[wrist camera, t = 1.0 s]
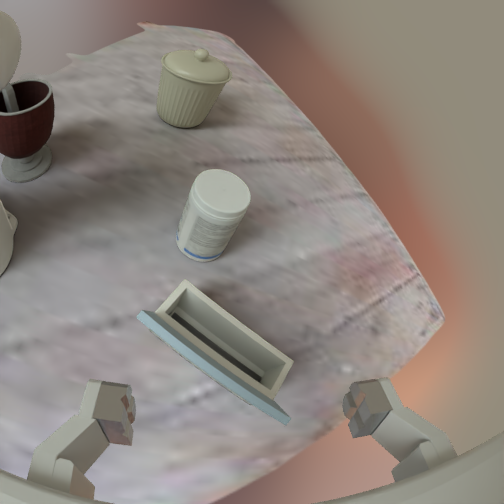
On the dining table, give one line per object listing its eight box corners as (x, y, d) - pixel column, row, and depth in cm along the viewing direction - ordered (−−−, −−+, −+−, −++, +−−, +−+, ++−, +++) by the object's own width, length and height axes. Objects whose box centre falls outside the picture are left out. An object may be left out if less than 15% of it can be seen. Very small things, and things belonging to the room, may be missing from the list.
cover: (154, 312, 39) (149, 317, 39) (141, 310, 31) (136, 317, 30) (273, 400, 39) (269, 406, 38) (291, 418, 30) (285, 425, 30)
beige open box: (148, 330, 45) (154, 312, 39) (174, 300, 50) (185, 278, 44) (250, 405, 45) (273, 399, 39) (270, 371, 50) (294, 361, 44)
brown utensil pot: (67, 154, 56) (70, 74, 40) (26, 195, 47) (13, 110, 32) (24, 133, 53) (21, 59, 38) (-16, 168, 44) (-31, 90, 29)
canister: (222, 121, 83) (251, 60, 67) (185, 146, 71) (214, 72, 55) (174, 93, 82) (195, 33, 66) (133, 113, 70) (151, 42, 54)
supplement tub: (232, 249, 60) (264, 201, 49) (195, 272, 54) (222, 223, 43) (202, 214, 62) (226, 161, 51) (164, 233, 56) (181, 177, 45)
